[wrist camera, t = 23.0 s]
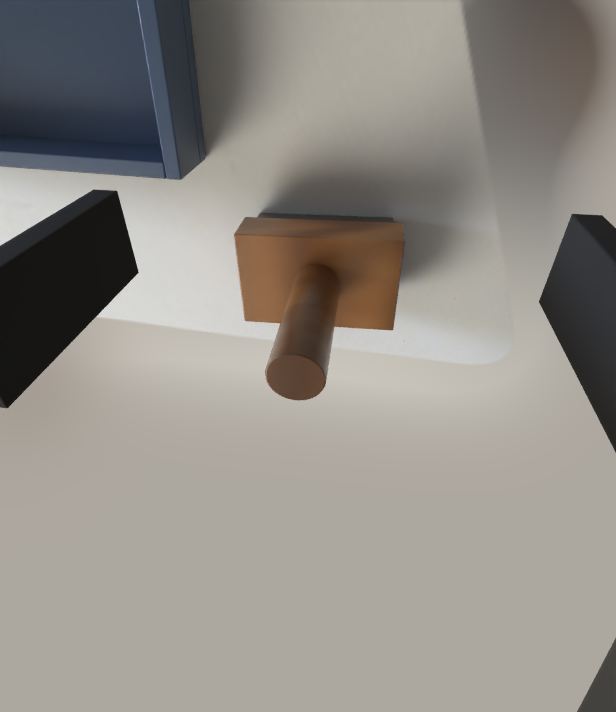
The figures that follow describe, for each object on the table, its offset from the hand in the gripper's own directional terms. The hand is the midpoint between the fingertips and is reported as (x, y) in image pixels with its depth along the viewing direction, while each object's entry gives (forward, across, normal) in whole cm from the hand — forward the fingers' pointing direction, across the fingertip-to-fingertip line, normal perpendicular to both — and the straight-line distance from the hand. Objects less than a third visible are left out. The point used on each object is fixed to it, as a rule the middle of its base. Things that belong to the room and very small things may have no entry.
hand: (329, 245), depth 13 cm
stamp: (+13, -2, -6) cm, 15 cm away
